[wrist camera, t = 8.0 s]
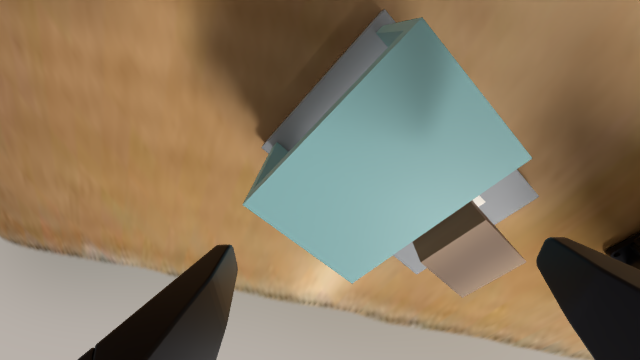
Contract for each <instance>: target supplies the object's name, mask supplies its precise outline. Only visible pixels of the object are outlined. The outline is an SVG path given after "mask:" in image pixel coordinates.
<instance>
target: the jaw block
mask: <svg viewBox="0 0 640 360" xmlns="http://www.w3.org/2000/svg"><path fill="white" fill-rule="evenodd" d="M413 245H414V247H415V250H416V252H417V255H418V257H419V260H420V262H421V263H422V264H423V265H424V266H425V267H427V268H428V269H429V270H430V271H431V272H433V273H434V274H435V275H436V276H437V277H438V278H440V279H441V280H442V281H443V282H444V283H446V284H447V285H448V286H449V287H450V288H451V289H453V290H454V291H455V292H456V293H457V294H459V295H460V296H461V297H462V298H463V297H465V296H466V295H468V294H470V293H472V292H474V291H475V290H477V289H479V288H481V287H483V286H484V285H486V284H488V283H490V282H492V281H493V280H495V279H497V278H499V277H501V276H502V275H504V274H506V273H508V272H510V271H511V270H513V269H515V268H517V267H519V266H520V265H522V264H524V263H526V261H525V260H524V259H523V257H522V256H521V255H520V254H519V253H518V252H517V251H516V249H515V248H514V247H513V246H512V245H511V244H510V243H509V241H508V240H507V239H506V238H505V237H504V236H503V235H502V233H501V232H500V231H499V230H498V229H497V228H496V227H495V225H494V224H493V223H492V222H491V221H490V220H489V219H488V217H487V216H486V215H485V214H484V213H483V212H482V211H481V210H480V208H479V207H478V206H477V205H476V204H475V203H474V202H473V201H470V202H469V203H467V204H466V205H464V206H463V207H462V208H460V209H459V210H457V211H456V212H454V213H453V214H451V215H450V216H449V217H447V218H446V219H444V220H443V221H441V222H440V223H439V224H437V225H436V226H434V227H433V228H431V229H430V230H428V231H427V232H426V233H424V234H423V235H421V236H420V237H418V238H417V239H415V240H414V241H413Z"/></svg>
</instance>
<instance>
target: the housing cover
mask: <svg viewBox="0 0 640 360" xmlns="http://www.w3.org/2000/svg"><path fill="white" fill-rule="evenodd" d="M376 34H377V35H378V36H379V38H380V39H381V40H382V41H383V42H384V43H385V44H386V46H387V47H388V48H387V49H386V50H385V51H384V52H383V53H382V54H381V55H380V56H379V57H378V58H377V60H376V61H375V62H374V63H373V64H372V65H371V66H370V67H369V68H368V69H367V70H366V71H365V72H364V73H363V74H362V75H361V76H360V77H359V79H358V80H357V81H356V82H355V83H354V84H353V85H352V86H351V87H350V88H349V89H348V90H347V91H346V92H345V93H344V94H343V95H342V96H341V97H340V99H339V100H338V101H337V102H336V103H335V104H334V105H333V106H332V107H331V108H330V109H329V110H328V111H327V112H326V113H325V114H324V115H323V116H322V117H321V119H320V120H319V121H318V122H317V123H316V124H315V125H314V126H313V127H312V128H311V129H310V130H309V131H308V132H307V133H306V134H305V135H304V136H303V137H302V139H301V140H300V141H299V142H298V143H297V144H296V145H295V146H294V147H293V148H292V149H291V150H290V151H289V152H288V151H287V150H286V149H285V148H284V147H282V146H281V145H280V144H279V143H278V142H276V144H275V145H274V146H273V147H272V149H271V151H270V153H269V154H268V156H267V158H266V160H265V162H264V164H263V166H262V168H261V170H260V172H259V174H258V176H257V178H256V180H255V182H254V184H253V186H252V188H251V189H250V191H249V193H248V195H247V197H246V199H245V201H244V203H243V205H244V206H245V207H246V208H248V209H249V210H250V211H252V212H253V213H255V214H256V215H257V216H259V217H260V218H262V219H263V220H264V221H266V222H267V223H269V224H270V225H271V226H273V227H274V228H275V229H277V230H278V231H280V232H281V233H282V234H284V235H285V236H287V237H288V238H289V239H291V240H292V241H294V242H295V243H296V244H298V245H299V246H301V247H302V248H303V249H305V250H306V251H307V252H309V253H310V254H312V255H313V256H314V257H316V258H317V259H319V260H320V261H321V262H323V263H324V264H326V265H327V266H328V267H330V268H331V269H333V270H334V271H335V272H337V273H338V274H339V275H341V276H342V277H344V278H345V279H346V280H348V281H349V282H351V283H353V282H355V281H356V280H358V279H359V278H361V277H362V276H364V275H365V274H366V273H368V272H369V271H371V270H372V269H374V268H375V267H377V266H378V265H379V264H381V263H382V262H384V261H385V260H387V259H388V258H390V257H391V256H392V255H394V254H395V253H397V252H398V251H400V250H401V249H402V248H404V247H405V246H407V245H408V244H410V243H411V242H413V241H414V240H415V239H417V238H418V237H420V236H421V235H423V234H424V233H426V232H427V231H428V230H430V229H431V228H433V227H434V226H436V225H437V224H439V223H440V222H441V221H443V220H444V219H446V218H447V217H449V216H450V215H451V214H453V213H454V212H456V211H457V210H459V209H460V208H462V207H463V206H464V205H466V204H467V203H469V202H470V201H472V200H473V199H475V198H476V197H477V196H479V195H480V194H482V193H483V192H485V191H486V190H488V189H489V188H490V187H492V186H493V185H495V184H496V183H498V182H499V181H500V180H502V179H503V178H505V177H506V176H508V175H509V174H511V173H512V172H513V171H515V170H516V169H518V168H519V167H521V166H522V165H524V164H525V163H526V162H528V161H529V160H531V159H532V157H531V156H530V155H529V153H528V152H527V151H526V149H525V148H524V147H523V146H522V144H521V143H520V142H519V141H518V139H517V138H516V137H515V135H514V134H513V133H512V132H511V130H510V129H509V128H508V126H507V125H506V124H505V123H504V121H503V120H502V119H501V118H500V116H499V115H498V114H497V112H496V111H495V110H494V109H493V107H492V106H491V105H490V103H489V102H488V101H487V100H486V98H485V97H484V96H483V94H482V93H481V92H480V91H479V89H478V88H477V87H476V86H475V84H474V83H473V82H472V80H471V79H470V78H469V77H468V75H467V74H466V73H465V71H464V70H463V69H462V68H461V66H460V65H459V64H458V63H457V61H456V60H455V59H454V57H453V56H452V55H451V54H450V52H449V51H448V50H447V48H446V47H445V46H444V45H443V43H442V42H441V41H440V39H439V38H438V37H437V36H436V34H435V33H434V32H433V31H432V29H431V28H430V27H429V25H428V24H427V23H426V22H425V20H424V19H423V18H417V19H412V20H407V21H402V22H398V23H393V24H388V25H383V26H382V27H381V28H380V29H379V30H378V31H377V32H376Z"/></svg>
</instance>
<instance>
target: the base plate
mask: <svg viewBox="0 0 640 360" xmlns="http://www.w3.org/2000/svg"><path fill="white" fill-rule="evenodd" d="M393 23H396V22H395V21H394V20H393V19H392V17H391V16H390V15H389V14H388V13H387V11H386V10H385V9H384V10H382V11H381V12H380V13H379V14H378V15H377V16H376V17H375V19H374V20H373V21H372V22H371V23H370V24H369V25H368V26H367V28H366V29H365V30H364V31H363V32H362V33H361V34H360V36H359V37H358V38H357V39H356V40H355V41H354V42H353V43H352V45H351V46H350V47H349V48H348V49H347V50H346V51H345V52H344V54H343V55H342V56H341V57H340V58H339V59H338V60H337V61H336V63H335V64H334V65H333V66H332V67H331V68H330V69H329V70H328V72H327V73H326V74H325V75H324V76H323V77H322V78H321V80H320V81H319V82H318V83H317V84H316V85H315V86H314V87H313V89H312V90H311V91H310V92H309V93H308V94H307V95H306V96H305V98H304V99H303V100H302V101H301V102H300V103H299V104H298V105H297V107H296V108H295V109H294V110H293V111H292V112H291V113H290V114H289V116H288V117H287V118H286V119H285V120H284V121H283V122H282V124H281V125H280V126H279V127H278V128H277V129H276V130H275V131H274V133H273V134H272V135H271V136H270V137H269V138H268V139H267V140H266V142H265V143H264V144H263V146H262V149H264V150H265V151H266V152H267V153H270V151H271V149H272V147H273V146H274V145H275V144H276V142H278V143H279V144H280V145H281V146H282V147H284V148H285V149H286V150H287V151H288V152H289V151H290V150H291V149H292V148H293V147H294V146H295V145H296V144H297V143H298V142H299V141H300V140H301V139H302V137H303V136H304V135H305V134H306V133H307V132H308V131H309V130H310V129H311V128H312V127H313V126H314V125H315V124H316V123H317V122H318V121H319V120H320V119H321V117H322V116H323V115H324V114H325V113H326V112H327V111H328V110H329V109H330V108H331V107H332V106H333V105H334V104H335V103H336V102H337V101H338V100H339V99H340V97H341V96H342V95H343V94H344V93H345V92H346V91H347V90H348V89H349V88H350V87H351V86H352V85H353V84H354V83H355V82H356V81H357V80H358V79H359V77H360V76H361V75H362V74H363V73H364V72H365V71H366V70H367V69H368V68H369V67H370V66H371V65H372V64H373V63H374V62H375V61H376V60H377V58H378V57H379V56H380V55H381V54H382V53H383V52H384V51H385V50H386V49H387V48H388V47H387V46H386V44H385V43H384V42H383V41H382V40H381V39H380V38H379V36H378V35H377V34H376V32H377V31H378V30H379V29H380V28H381V27H382V26H383V25H388V24H393ZM538 197H539V196H538V195H537V193H536V192H535V191H534V190H533V189H532V187H531V186H530V185H529V184H528V182H527V181H526V180H525V179H524V178H523V176H522V175H521V174H520V173H519V172H518V170H517V169H516V170H515V171H513V172H512V173H511V174H509V175H508V176H506V177H505V178H503V179H502V180H500V181H499V182H498V183H496V184H495V185H493V186H492V187H490V188H489V189H488V190H486V191H485V192H483V193H482V194H480V195H479V196H477V197H476V198H475V199H473V200H472V201H473V202H474V203H475V204H476V205H477V206H478V207H479V208H480V210H481V211H482V212H483V213H484V214H485V215H486V216H487V217H488V219H489V220H490V221H491V222H492V223H493V224H494V225H495V224H497V223H498V222H500V221H502V220H503V219H505V218H506V217H508V216H509V215H511V214H513V213H514V212H516V211H517V210H519V209H520V208H522V207H524V206H525V205H527V204H528V203H530V202H531V201H533V200H535V199H536V198H538ZM393 256H395V257H396V258H397V259H398V260H400V261H401V262H402V263H403V264H405V265H406V266H407V267H408V268H409V269H411V270H412V271H413V272H414V273H416V274H418V273H420V272H421V271H423V270H424V269H426V268H427V267H425V266H424V265H423V264H422V263H421V262H420V260H419V257H418V255H417V252H416V250H415V247H414V245H413V242H411V243H410V244H408V245H407V246H405V247H404V248H402V249H401V250H400V251H398V252H397V253H395V254H394V255H393Z"/></svg>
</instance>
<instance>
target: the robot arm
mask: <svg viewBox="0 0 640 360" xmlns="http://www.w3.org/2000/svg"><path fill="white" fill-rule="evenodd" d="M536 262H537V267H538V269H539V270H540V272H541V274H542V276H543V277H544V279H545V281H546V283H547V285H548V286H549V288H550V290H551V292H552V293H553V295H554V297H555V299H556V301H557V302H558V304H559V306H560V308H561V309H562V311H563V313H564V314H565V316H566V318H567V319H568V321H569V323H570V324H571V326H572V327H573V329H574V330H575V332H576V333H577V334H578V336H579V337H580V339H581V340H582V342H583V343H584V345H585V346H586V348H587V349H588V350H589V352H590V353H591V355H592V356H593V358H594V359H595V360H640V233H639V234H637V235H635V236H633V237H631V238H629V239H627V240H625V241H623V242H621V243H619V244H617V245H615V246H613V247H611V248H610V249H608V250H607V251H606V255H605V254H602V253H600V252H598V251H595V250H593V249H591V248H589V247H586V246H584V245H582V244H579V243H577V242H575V241H573V240H570V239H568V238H565V237H550V238H548V239H546V240H545V242H544V244H543V246H542V248H541V250H540V252H539V254H538V257H537V260H536ZM237 271H238V267H237V262H236V257H235V253H234V249H233V247H232V245H217V246H215V247H214V248H213V249H212V250H210V251H209V252H208V253H207V254H206V255H204V256H203V257H202V258H201V259H199V260H198V261H197V262H196V263H195V264H193V265H192V266H191V267H190V268H188V269H187V270H186V271H185V272H184V273H182V274H181V275H180V276H179V277H178V278H176V279H175V280H174V281H173V282H172V283H170V284H169V285H168V286H167V287H165V288H164V289H163V290H162V291H161V292H159V293H158V294H157V295H156V296H154V297H153V298H152V299H151V300H150V301H148V302H147V303H146V304H145V305H144V306H142V307H141V308H140V309H139V310H137V311H136V312H135V313H134V314H133V315H132V316H130V317H129V318H128V319H127V320H125V321H124V322H123V323H122V324H121V325H119V326H118V327H117V328H116V329H114V330H113V331H112V332H111V333H110V334H108V335H107V336H106V337H105V338H103V339H102V340H101V341H100V342H99V343H97V344H96V346H95V348H91V349H90V350H89V351H87V352H86V353H85V354H84V355H83V356H81V357H80V358H79V359H78V360H216V358H217V355H218V352H219V349H220V346H221V342H222V339H223V336H224V333H225V329H226V326H227V321H228V317H229V312H230V307H231V302H232V297H233V292H234V287H235V282H236V277H237Z"/></svg>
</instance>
